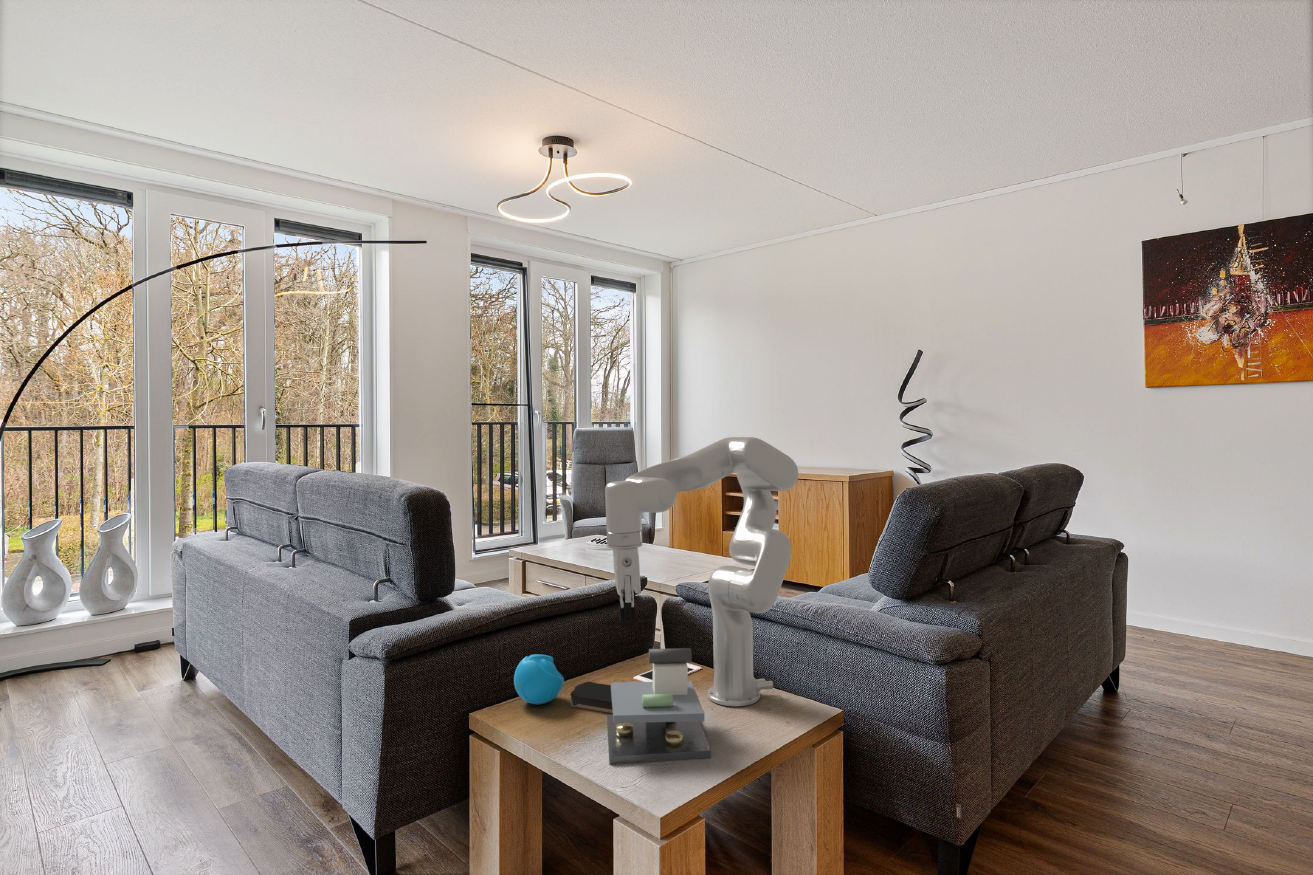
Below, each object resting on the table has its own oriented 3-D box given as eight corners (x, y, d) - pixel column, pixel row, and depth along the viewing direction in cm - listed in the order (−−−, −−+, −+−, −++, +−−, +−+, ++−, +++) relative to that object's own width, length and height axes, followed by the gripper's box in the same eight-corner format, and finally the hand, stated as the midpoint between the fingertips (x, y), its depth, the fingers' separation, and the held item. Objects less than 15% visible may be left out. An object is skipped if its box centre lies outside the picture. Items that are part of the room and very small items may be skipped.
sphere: (571, 705, 162) (570, 656, 162) (526, 716, 156) (525, 666, 155) (550, 689, 172) (549, 643, 172) (506, 700, 166) (506, 652, 165)
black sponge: (643, 704, 162) (642, 689, 162) (626, 718, 154) (626, 702, 154) (584, 694, 169) (583, 680, 169) (565, 707, 161) (565, 692, 161)
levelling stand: (695, 716, 154) (694, 692, 154) (710, 757, 134) (710, 731, 134) (606, 721, 152) (606, 697, 152) (609, 764, 132) (608, 737, 132)
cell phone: (702, 670, 185) (702, 667, 185) (656, 689, 172) (656, 685, 172) (678, 663, 191) (678, 660, 191) (632, 680, 178) (632, 677, 178)
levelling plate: (690, 692, 153) (691, 640, 153) (704, 726, 135) (705, 667, 135) (610, 694, 151) (611, 642, 151) (613, 729, 133) (614, 669, 133)
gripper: (645, 544, 138) (648, 634, 138) (639, 532, 153) (642, 614, 153) (608, 546, 137) (611, 636, 137) (605, 534, 152) (608, 616, 152)
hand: (627, 624), depth 145 cm, fingers closed
